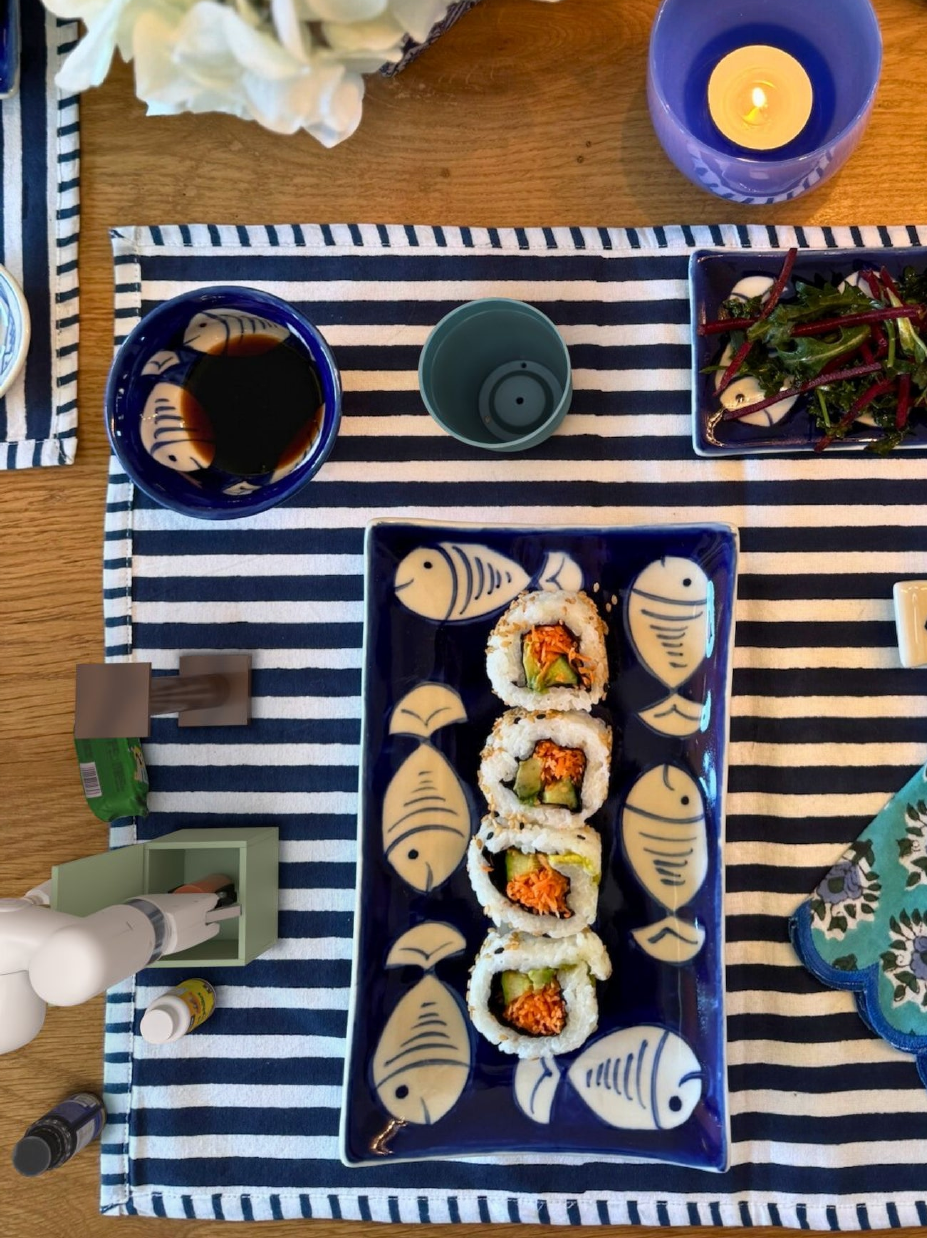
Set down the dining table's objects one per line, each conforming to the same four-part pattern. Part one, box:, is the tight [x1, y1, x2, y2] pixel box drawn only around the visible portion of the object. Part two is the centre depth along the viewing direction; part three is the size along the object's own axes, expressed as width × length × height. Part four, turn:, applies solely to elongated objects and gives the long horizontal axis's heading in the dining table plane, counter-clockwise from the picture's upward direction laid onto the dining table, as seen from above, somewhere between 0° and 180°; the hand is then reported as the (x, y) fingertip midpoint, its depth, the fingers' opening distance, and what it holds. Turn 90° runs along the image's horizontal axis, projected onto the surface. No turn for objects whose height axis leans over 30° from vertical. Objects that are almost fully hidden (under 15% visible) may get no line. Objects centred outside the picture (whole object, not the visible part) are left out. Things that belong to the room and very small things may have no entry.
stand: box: [73, 654, 253, 740], centre depth 130 cm, size 9×9×25 cm
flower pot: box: [417, 296, 574, 453], centre depth 136 cm, size 18×18×17 cm
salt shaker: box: [19, 878, 51, 907], centre depth 135 cm, size 5×5×11 cm
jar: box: [172, 873, 232, 894], centre depth 132 cm, size 5×5×7 cm
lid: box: [38, 843, 143, 1008], centre depth 123 cm, size 13×15×5 cm
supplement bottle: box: [139, 977, 217, 1045], centre depth 133 cm, size 6×6×10 cm
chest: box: [142, 826, 280, 969], centre depth 135 cm, size 13×15×10 cm
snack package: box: [72, 722, 151, 824], centre depth 139 cm, size 7×16×5 cm, turn 15°
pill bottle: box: [11, 1091, 108, 1178], centre depth 132 cm, size 6×6×11 cm
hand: (208, 896), depth 134 cm, fingers closed on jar, 5 cm apart
